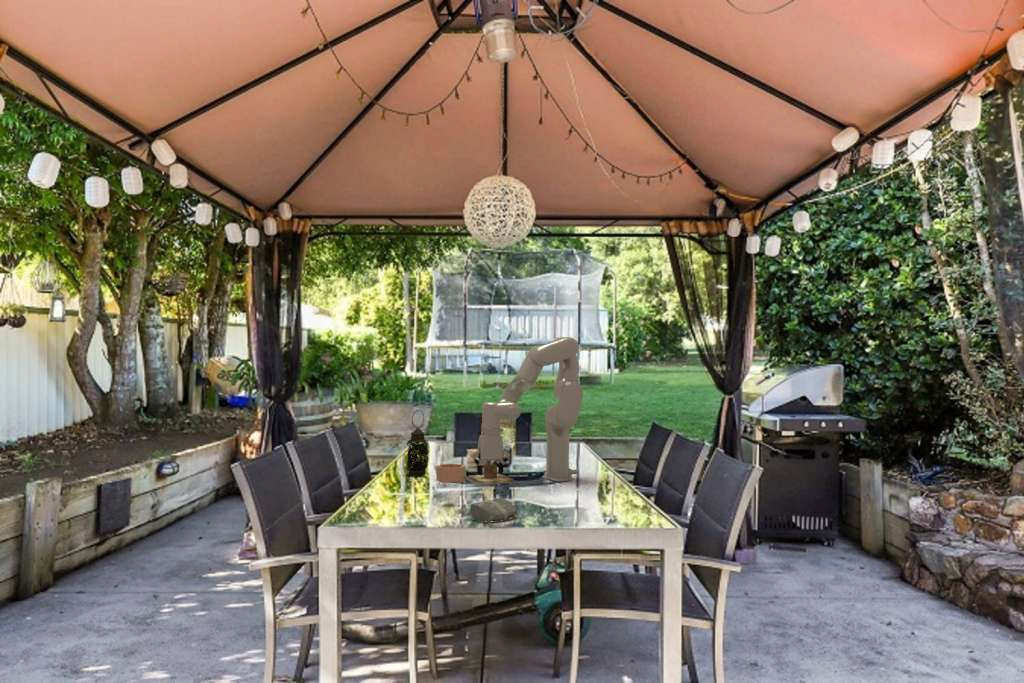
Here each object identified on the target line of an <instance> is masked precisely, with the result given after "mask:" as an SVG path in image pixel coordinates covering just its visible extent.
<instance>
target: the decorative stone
mask: <svg viewBox="0 0 1024 683" xmlns="http://www.w3.org/2000/svg"><path fill="white" fill-rule="evenodd" d="M469 506H470V508H469V509H470V510H469V513H470V516H471V518H472V519H473V520H478V521H477V522H480V521H487V522H491V521H500V522H502V521H501V520H503V521H504V520H505V521H508V520H507V519H509V518H511V517H513V518H515V516H516V513H517V508H516V506H515V505H514V504H513V503H512V502H511V501H510V500H507V499H505V498H499V497H498V498H494V499H487V500H484V501H481V502H474V503H471V504H470V505H469ZM479 520H480V521H479ZM509 520H510V519H509Z"/></svg>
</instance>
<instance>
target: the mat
mask: <svg viewBox="0 0 1024 683" xmlns="http://www.w3.org/2000/svg"><path fill="white" fill-rule="evenodd" d="M466 480H467V481H468V482H470V483H473V484H475V485H477V486H485V485H487V486H488V485H500V484H501V485H503V484H516V483H519V481H518V480H515V479H513V482H502V483H488V484H480V483H478V482H476V481H474V480H471V479H469V478H468V476H466ZM466 480H465V481H466Z"/></svg>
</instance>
